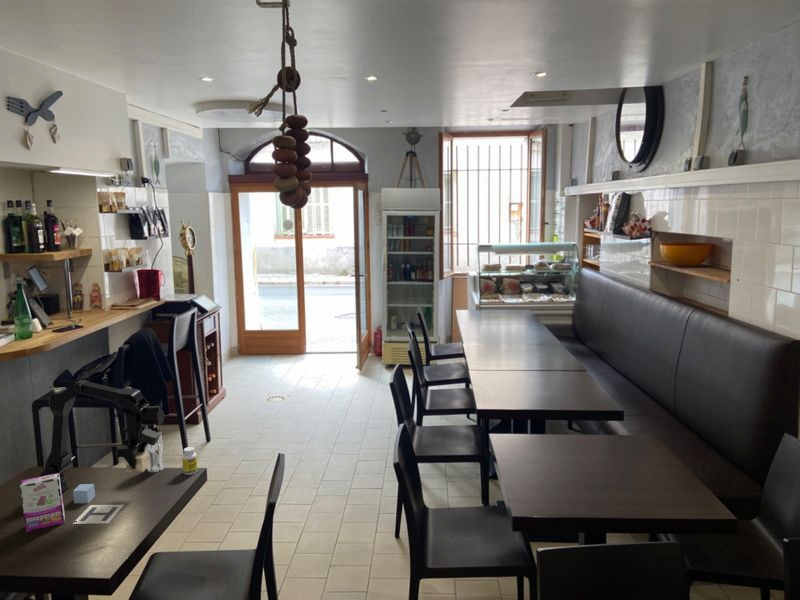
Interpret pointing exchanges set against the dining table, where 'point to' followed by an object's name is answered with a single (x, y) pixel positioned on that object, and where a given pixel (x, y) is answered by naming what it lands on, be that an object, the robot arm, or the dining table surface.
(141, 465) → the oak block
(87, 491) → the blue cube
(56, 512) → the candy bar box
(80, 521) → the letter board
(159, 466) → the beer glass
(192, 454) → the supplement bottle
